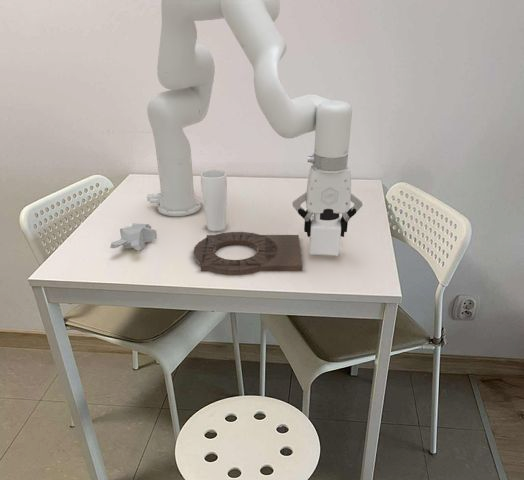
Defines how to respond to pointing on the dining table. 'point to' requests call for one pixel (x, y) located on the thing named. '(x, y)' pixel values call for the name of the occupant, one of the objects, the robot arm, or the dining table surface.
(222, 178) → the drinking glass
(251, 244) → the holder board
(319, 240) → the medicine bottle
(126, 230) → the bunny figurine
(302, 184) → the dining table surface
